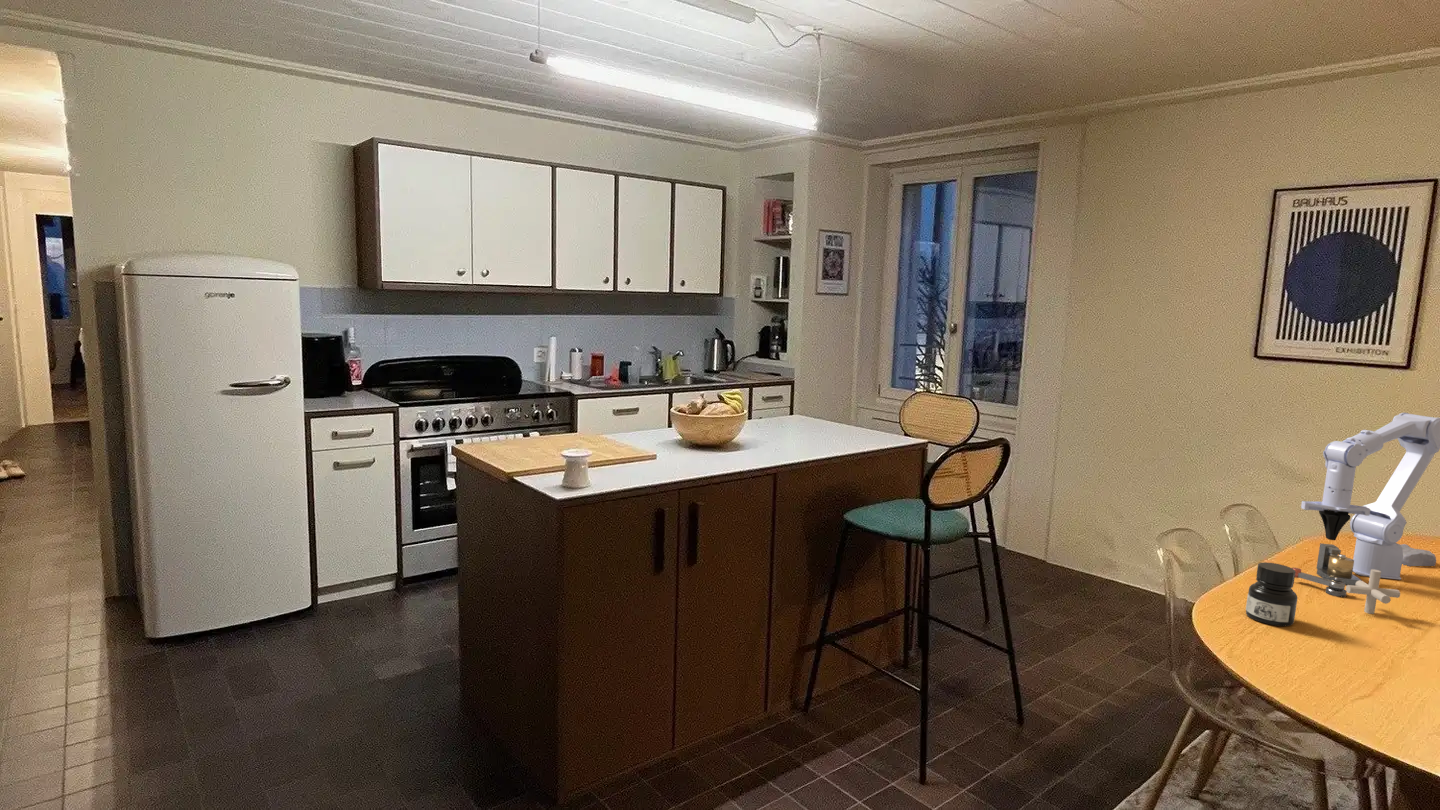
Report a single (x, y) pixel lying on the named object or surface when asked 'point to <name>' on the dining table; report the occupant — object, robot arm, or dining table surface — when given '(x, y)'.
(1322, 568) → the press
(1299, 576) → the lever
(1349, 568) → the housing
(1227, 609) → the dining table surface
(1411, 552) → the stone block
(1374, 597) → the pipe connector
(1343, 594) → the lever base
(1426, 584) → the dining table surface
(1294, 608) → the ink bottle
